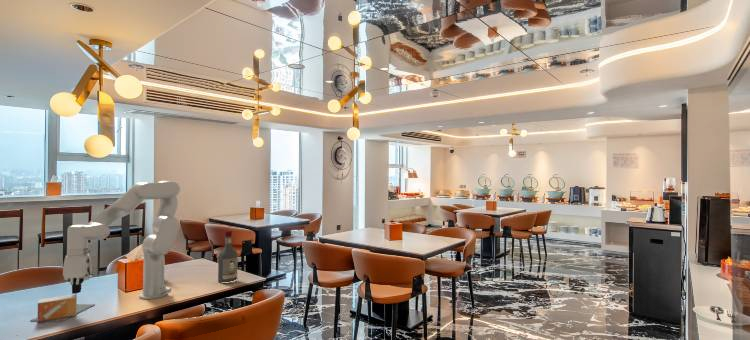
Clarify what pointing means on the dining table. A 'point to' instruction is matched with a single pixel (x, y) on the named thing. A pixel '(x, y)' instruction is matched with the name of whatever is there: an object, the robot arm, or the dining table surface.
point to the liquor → (227, 261)
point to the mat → (78, 309)
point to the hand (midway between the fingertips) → (76, 292)
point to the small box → (57, 307)
